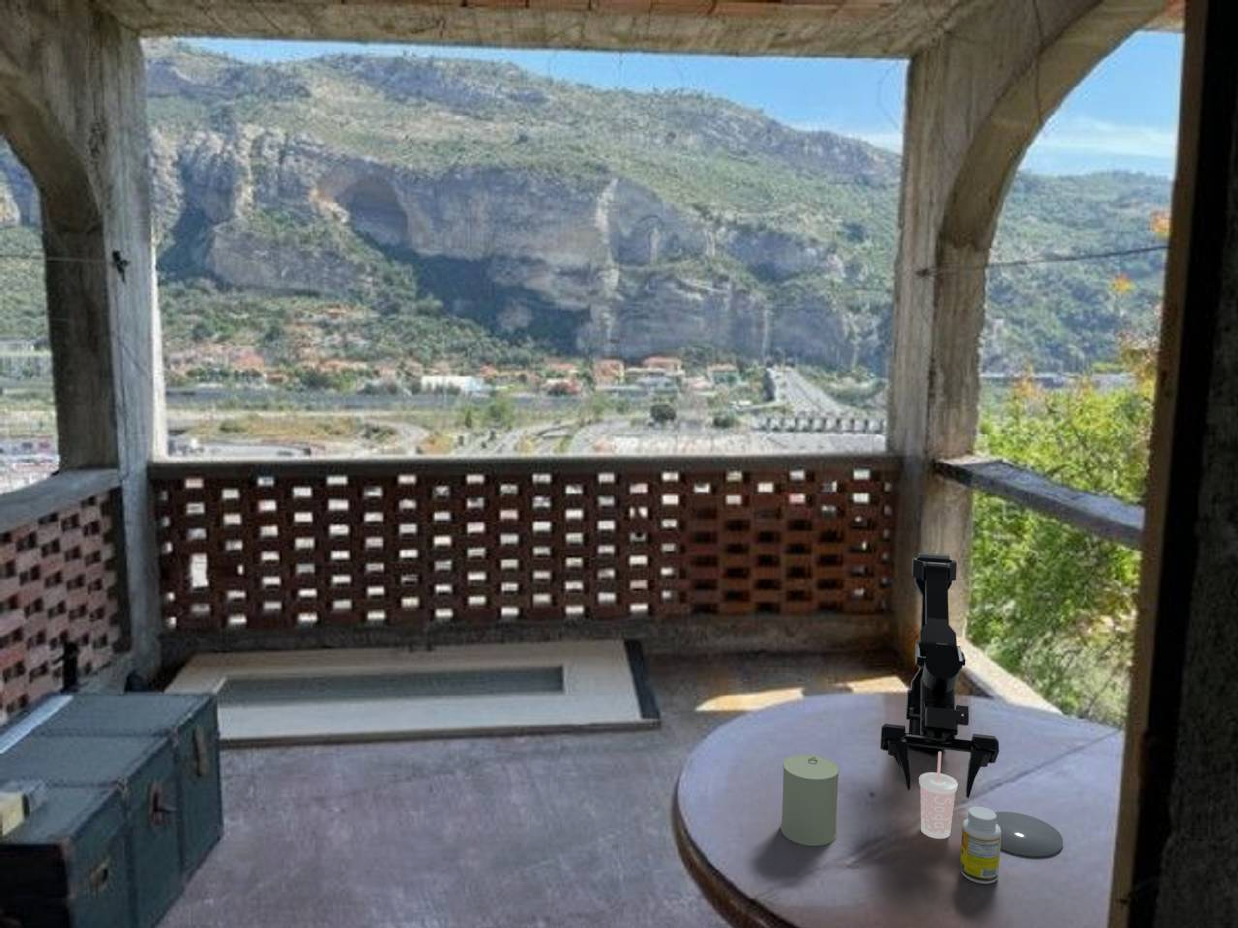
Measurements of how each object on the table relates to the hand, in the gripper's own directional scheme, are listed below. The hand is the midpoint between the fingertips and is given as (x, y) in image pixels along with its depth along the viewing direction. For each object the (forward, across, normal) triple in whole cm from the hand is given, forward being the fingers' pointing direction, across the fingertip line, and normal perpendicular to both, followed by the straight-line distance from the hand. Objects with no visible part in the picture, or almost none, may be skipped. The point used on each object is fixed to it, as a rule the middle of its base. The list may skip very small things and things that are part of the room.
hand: (938, 793), depth 152 cm
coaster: (+2, +13, +8) cm, 16 cm away
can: (+9, -20, +2) cm, 22 cm away
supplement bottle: (+13, +6, -2) cm, 14 cm away
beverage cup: (+4, 0, +6) cm, 8 cm away
